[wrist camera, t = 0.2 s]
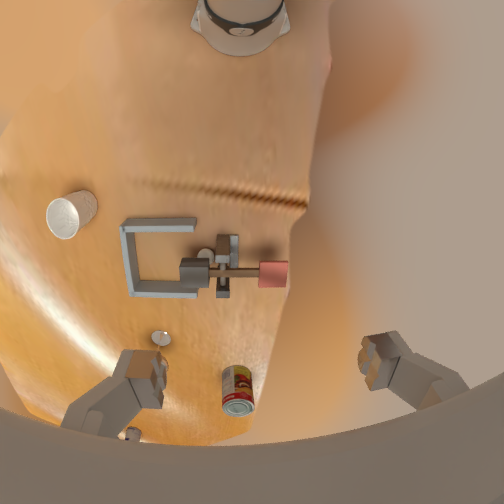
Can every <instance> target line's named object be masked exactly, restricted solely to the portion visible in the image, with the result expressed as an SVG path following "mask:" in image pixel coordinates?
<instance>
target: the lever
mask: <svg viewBox="0 0 504 504" xmlns="http://www.w3.org/2000/svg"><path fill="white" fill-rule="evenodd" d="M179 270H180V282H181V287H191V288H209V280H210V277H220V285H222V286H224V285H226V277H259V283H258V286H259V288H267V287H286V280H287V270H288V261H260V263H259V268H227V263H219V268H210V264H209V258H182V261H181V263H180V266H179Z"/></svg>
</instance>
